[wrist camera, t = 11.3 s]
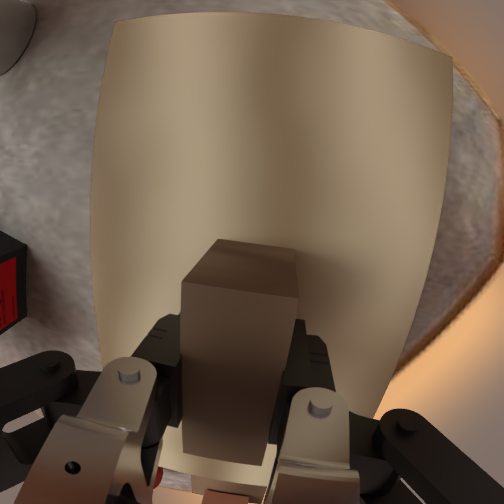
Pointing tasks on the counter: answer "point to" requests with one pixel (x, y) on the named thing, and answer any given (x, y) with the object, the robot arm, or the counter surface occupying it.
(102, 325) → the lid
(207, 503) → the l-shaped block
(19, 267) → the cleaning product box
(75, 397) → the robot arm
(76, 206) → the counter surface
